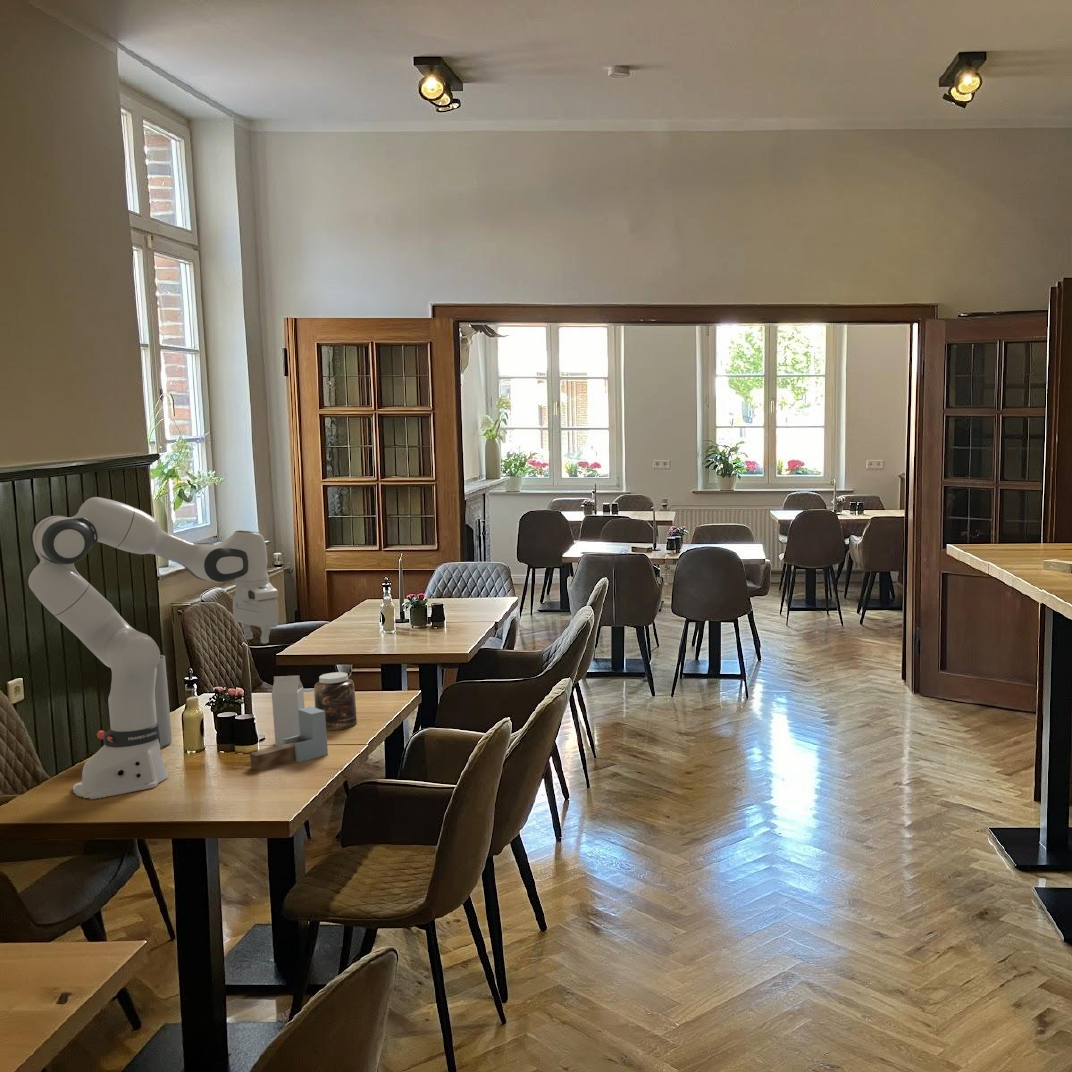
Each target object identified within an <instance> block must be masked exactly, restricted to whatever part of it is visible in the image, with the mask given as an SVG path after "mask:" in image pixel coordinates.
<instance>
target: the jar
mask: <svg viewBox="0 0 1072 1072" xmlns="http://www.w3.org/2000/svg"><path fill="white" fill-rule="evenodd" d="M318 679H319V680H318V682H316V683H315V684H314V686H313V687H314V689H313V691H314V692H313V694H314V695H313V696H314V708H317V709H320V710H323V711H325V720H326V731H339V730H345V729H349V728H352V727H354V726H355V725H357V723H358V720H357V705H356V703H357V702H356V690H355V682H354V681H353V680H352V679H351V678H349V675H348V673H347V672H342V671H340V672H337V671H336V672H329V673H322V674H321V675H320V676H319V677H318Z"/></svg>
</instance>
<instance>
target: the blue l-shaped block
mask: <svg viewBox="0 0 1072 1072" xmlns="http://www.w3.org/2000/svg"><path fill="white" fill-rule="evenodd" d="M298 715H299V729H300V735H297V736H293V737H289V738H285V739H283V744H284V745H285V744H289V743H293V742H297V741H298V737H302V738H304V739H307V740H306V741H302V742H298V743H295V757H296V761H295V762H296V763H301V762H306V761H309V760H313V759H317V758H321V757H324V756H327V755H329V753H328V737H327V736H328V735H327V730H326V720H325V711H323V710H320V709H317V708H315V706H308V707H305V708H303V709H298Z"/></svg>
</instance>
